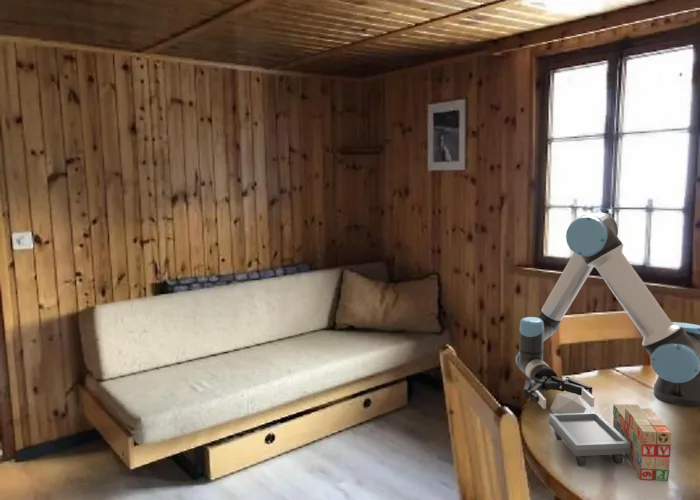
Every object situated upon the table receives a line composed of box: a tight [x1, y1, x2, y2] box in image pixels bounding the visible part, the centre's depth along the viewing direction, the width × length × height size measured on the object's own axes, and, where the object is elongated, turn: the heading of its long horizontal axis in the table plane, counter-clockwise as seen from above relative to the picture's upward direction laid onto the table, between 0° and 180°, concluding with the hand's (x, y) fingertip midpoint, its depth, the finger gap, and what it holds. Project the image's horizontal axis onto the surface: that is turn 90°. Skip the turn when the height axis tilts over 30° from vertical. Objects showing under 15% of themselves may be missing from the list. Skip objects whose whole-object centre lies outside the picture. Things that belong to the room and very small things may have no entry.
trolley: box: [548, 411, 630, 467], centre depth 141 cm, size 13×17×6 cm
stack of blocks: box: [612, 403, 673, 482], centre depth 136 cm, size 21×6×12 cm, turn 171°
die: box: [550, 392, 587, 414], centre depth 157 cm, size 8×9×10 cm
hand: (568, 403), depth 155 cm, fingers open, 13 cm apart
